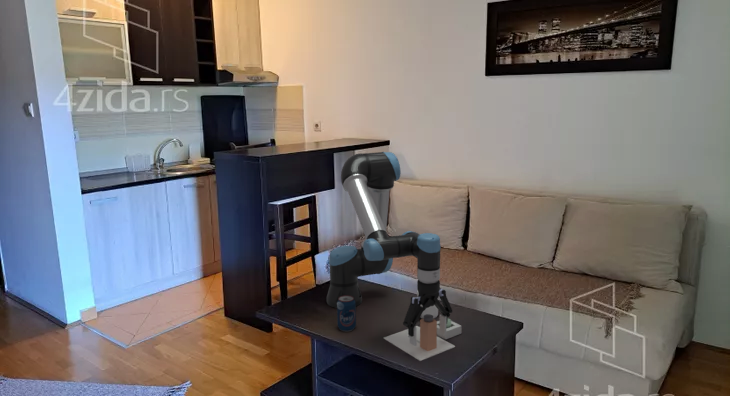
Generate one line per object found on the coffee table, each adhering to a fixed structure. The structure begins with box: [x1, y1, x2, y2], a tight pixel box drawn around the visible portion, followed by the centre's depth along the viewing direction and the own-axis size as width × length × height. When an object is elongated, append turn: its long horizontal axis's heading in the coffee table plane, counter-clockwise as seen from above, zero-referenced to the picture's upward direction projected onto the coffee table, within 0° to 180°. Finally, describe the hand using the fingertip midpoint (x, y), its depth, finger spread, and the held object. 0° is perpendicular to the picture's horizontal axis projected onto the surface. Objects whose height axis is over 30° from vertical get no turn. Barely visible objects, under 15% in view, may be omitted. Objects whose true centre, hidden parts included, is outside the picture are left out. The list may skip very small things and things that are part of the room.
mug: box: [416, 290, 439, 320], centre depth 198 cm, size 12×8×10 cm
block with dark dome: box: [419, 314, 438, 351], centre depth 173 cm, size 4×4×11 cm
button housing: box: [436, 320, 462, 341], centre depth 185 cm, size 8×8×3 cm
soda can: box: [336, 295, 357, 332], centre depth 189 cm, size 7×7×12 cm
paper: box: [383, 325, 456, 362], centre depth 178 cm, size 20×16×1 cm
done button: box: [446, 317, 452, 329], centre depth 184 cm, size 4×4×3 cm
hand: (428, 338), depth 173 cm, fingers open, 13 cm apart
